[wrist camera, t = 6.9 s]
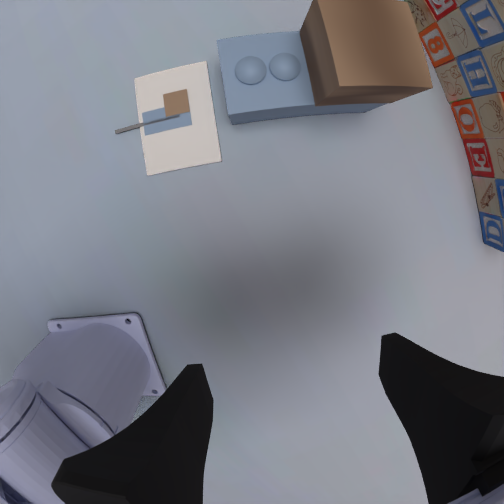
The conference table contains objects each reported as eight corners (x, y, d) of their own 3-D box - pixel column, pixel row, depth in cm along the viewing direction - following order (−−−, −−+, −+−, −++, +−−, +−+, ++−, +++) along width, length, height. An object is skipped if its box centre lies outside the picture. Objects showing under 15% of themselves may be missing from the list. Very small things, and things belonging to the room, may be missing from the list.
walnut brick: (315, 106, 15) (339, 86, 10) (299, 32, 13) (315, -6, 9) (390, 103, 14) (433, 87, 10) (373, 33, 13) (407, 2, 9)
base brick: (232, 124, 19) (227, 113, 14) (222, 62, 17) (216, 37, 13) (365, 112, 18) (392, 101, 14) (353, 52, 17) (375, 30, 13)
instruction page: (124, 181, 19) (122, 181, 19) (112, 86, 17) (110, 85, 17) (221, 161, 19) (221, 161, 19) (206, 61, 17) (206, 60, 17)
